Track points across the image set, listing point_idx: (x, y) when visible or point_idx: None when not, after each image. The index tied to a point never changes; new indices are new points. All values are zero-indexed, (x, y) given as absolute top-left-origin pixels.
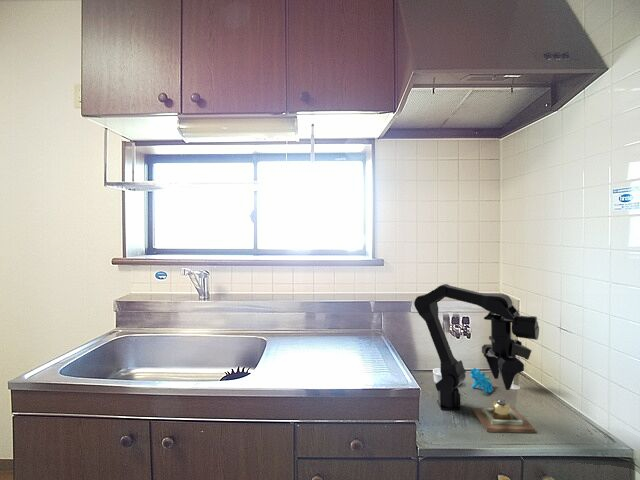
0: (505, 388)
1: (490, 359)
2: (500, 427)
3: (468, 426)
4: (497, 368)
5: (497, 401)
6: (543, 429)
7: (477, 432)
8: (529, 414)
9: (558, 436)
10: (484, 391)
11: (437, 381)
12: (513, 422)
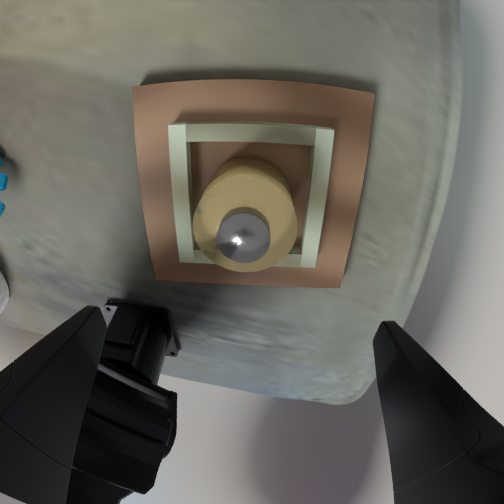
0: (378, 351)
1: (49, 491)
2: (342, 239)
3: (293, 319)
4: (49, 387)
5: (242, 259)
6: (338, 37)
7: (336, 307)
8: (171, 28)
9: (398, 20)
10: (5, 184)
11: (5, 305)
12: (327, 175)
